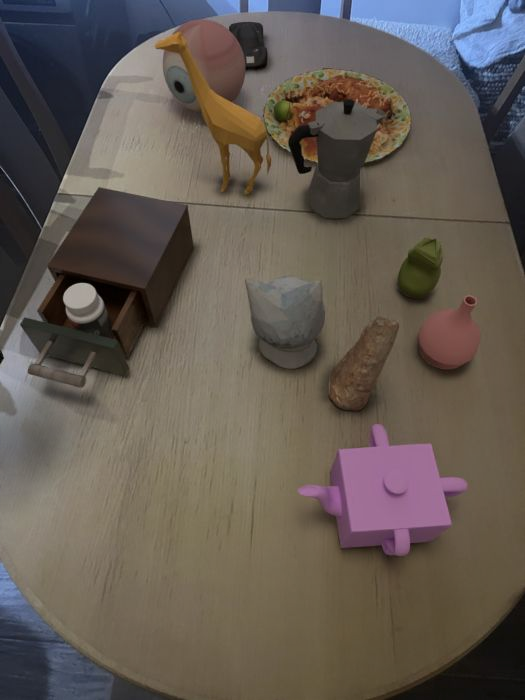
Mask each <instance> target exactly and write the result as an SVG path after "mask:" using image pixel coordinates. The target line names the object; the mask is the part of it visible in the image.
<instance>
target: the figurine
mask: <svg viewBox="0 0 525 700" xmlns="http://www.w3.org/2000/svg"><path fill="white" fill-rule="evenodd" d="M244 283H245V289H246V293H247V299H248V305H249V312H250V320H251V325H252V329H253V332H254V334H255V335H256V336H257V337H258V338H259V341H258V347H259V348H258V349H259V350H260V352H261V354H262V356H263V357H264V359H266V360H267V361H270V363H273V364H274V365H275V366H277V367H279V368H281V369H286V370H287V369H288V370H296V369H299V368H301V367H304V366H306V365H309V364H310V363H312V361H313V360H314V359H315V357H316V354H317V351H318V344H317V341H316V339H317V338H318V337H319V335H320V334H321V332H322V331H323V329H324V327H325V323H326V305H325V302H324V299H323V297H324V295H323V294H324V293H323V291H324V290H323V283H322V280H320V279H318V280H316V281H313V282H310V281H308V280H305V279H304V278H301V277H299V276H298V277H297V276H292V275H288V276H287V275H286V276H279V277H276V278H274V279H273V280H271V281H269V282H268V283H265V282H261V281H259V280H255V279H253V278H251V277H246V278H245V279H244Z"/></svg>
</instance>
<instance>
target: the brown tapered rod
mask: <svg viewBox="0 0 525 700" xmlns="http://www.w3.org/2000/svg"><path fill="white" fill-rule="evenodd" d="M399 330H400V323H399V322H398V321H397V320H396V319H394V318H392V317H390V316H387V315H379V316H377V317H376V318H374V319H372V320H371V321H370V322H368V324H366V325H365V327H364V328H363V330H362V331H361V333H360V335H359V338H358V339H357V341H356V342H355V344H354V345H352V346H351V347H350V349H349V350H348V351H347V352H346V353H345V354H344V355H343V357H342V358H341V359H340V360H339V362H338V363H337V364H336V366H335V367H334V368H333V370H332V371H331V373H330V376H329V379H328V382H327V388H328V391H327V392H328V398H329V399H331V400H332V402H333V404H334V405H335V406H336V407H337V408H339V409H341V410H344V411H353V412H357V411H360V410H361V409H363V408H364V407H365V406H366V405H367V403H368V402H369V399H370V397H371V394H372V391H373V390H374V388H375V386H376V384H377V382H378V380H379V377H380V375H381V373H382V371H383V368H384V367H385V364H386V362H387V360H388V357H389V355H390V353H391V351H392V349H393V347H394V344H395V341H396V338H397V335H398V332H399Z"/></svg>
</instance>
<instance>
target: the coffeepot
mask: <svg viewBox="0 0 525 700" xmlns="http://www.w3.org/2000/svg"><path fill="white" fill-rule="evenodd" d="M386 116H387V115H386V113H385V112H384V111H383V110H378V109H371V108H365V107H364V106H362V105H360V104H359V103H355V102H354V100H352V99H345V100H344V101H343V102H332V103H330V104H328V105H326V106H325V107H323V108H321V109H320V110H318V111H316V121H314V122H309V123H308V124H307V125H300V126H298V127H297V128H296V129H295V131H294V132H293V133H292V134H291V135H290V137H289V140H288V145H289V148H290V150H291V153H290V154H291V157H292V159H293V162H294V165H295V167H296V171H297V173H298V174H300V175H304V174H307V173H310V172H312V170H313V166H312V165H310V166H305V159H304V157H303V155H302V148H301V144H300V141H301V140H302V139H303V138H310V137H317V156H318V163H316V164H315V168H314V171H313V175H312V177H311V180H310V184H309V187H308V190H307V206H308V208H310V210H311V211H313V212H314V214H316V215H318V216H320V217H321V218H325V219H328V220H329V219H330V220H331V219H332V220H342V219H347V218H349V217H350V216H353V214H354V213H356V212H357V211H358V210H359V209H360V208H361V168H362V167H363V166H364V165H365V164H364V163H365V160H366V158H367V155H368V152H369V150H370V147H371V145H372V142H373V140H374V137H375V135H376V132H377V126H378V124H379V123H380V122H381V121H382V119H384V118H385V117H386Z"/></svg>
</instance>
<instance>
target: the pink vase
mask: <svg viewBox="0 0 525 700" xmlns="http://www.w3.org/2000/svg"><path fill="white" fill-rule="evenodd" d="M477 303H478V300H477V298H476V297H475V296H473V295H466V296H464V297H463V299H462V301H461V303H460V305H459V307H457V308H455V309H453V308H444V309H438V310H436V311H434V312H433V313H431V314H430V315H429V317H428V318H427V319H426V320H425V321H424V322H423V323H422V324H421V326H420V328H419V331H418V335H417V338H418V339H417V341H418V349H419V353H420V355H421V356H422V358H423V360H425V361H426V362H427V363H428V364H429V365H431V366H433V367H435V368H437V369H441V370H453V369H457V368H459V367H460V366H462V365H464V364H466V363H468V362H469V361H472V360H473V358H474V356H476V354H477V352H478V349H479V346H480V343H481V336H482V334H481V330H480V327H479V325H478V323H477V322H476V321H475V319H474V318H473V317H472V315H471V314H472V312H473V310H474V309H475V307H476V305H477Z"/></svg>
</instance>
